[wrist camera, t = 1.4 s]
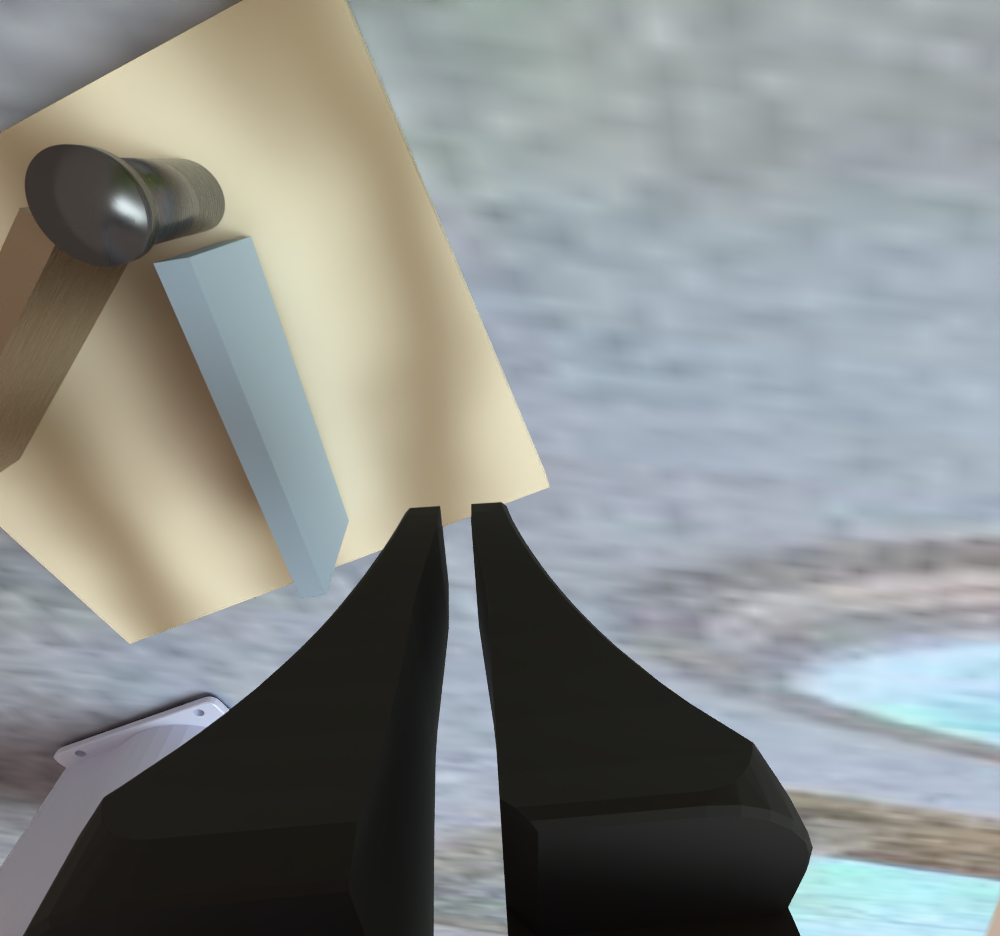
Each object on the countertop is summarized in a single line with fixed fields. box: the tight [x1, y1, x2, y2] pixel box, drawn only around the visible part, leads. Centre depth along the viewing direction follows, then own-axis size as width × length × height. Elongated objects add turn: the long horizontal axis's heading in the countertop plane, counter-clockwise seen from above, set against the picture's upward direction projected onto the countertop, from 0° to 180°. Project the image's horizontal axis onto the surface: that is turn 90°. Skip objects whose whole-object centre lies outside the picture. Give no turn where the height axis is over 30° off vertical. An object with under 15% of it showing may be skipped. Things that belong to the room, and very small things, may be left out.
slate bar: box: [153, 237, 349, 599], centre depth 16 cm, size 10×1×4 cm, turn 8°
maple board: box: [0, 0, 549, 644], centre depth 18 cm, size 19×16×1 cm
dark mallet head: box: [0, 144, 225, 472], centre depth 14 cm, size 12×2×5 cm, turn 138°
